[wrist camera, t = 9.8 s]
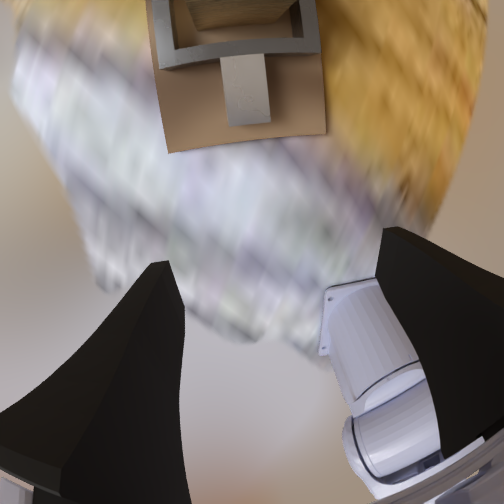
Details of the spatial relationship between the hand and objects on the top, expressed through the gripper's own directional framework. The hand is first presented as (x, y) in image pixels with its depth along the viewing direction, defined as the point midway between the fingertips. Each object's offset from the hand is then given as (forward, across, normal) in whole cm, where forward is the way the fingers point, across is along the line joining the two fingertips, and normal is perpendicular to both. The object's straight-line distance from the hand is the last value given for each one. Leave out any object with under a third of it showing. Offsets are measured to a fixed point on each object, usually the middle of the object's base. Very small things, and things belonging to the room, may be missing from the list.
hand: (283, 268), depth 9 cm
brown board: (+9, 0, -12) cm, 15 cm away
